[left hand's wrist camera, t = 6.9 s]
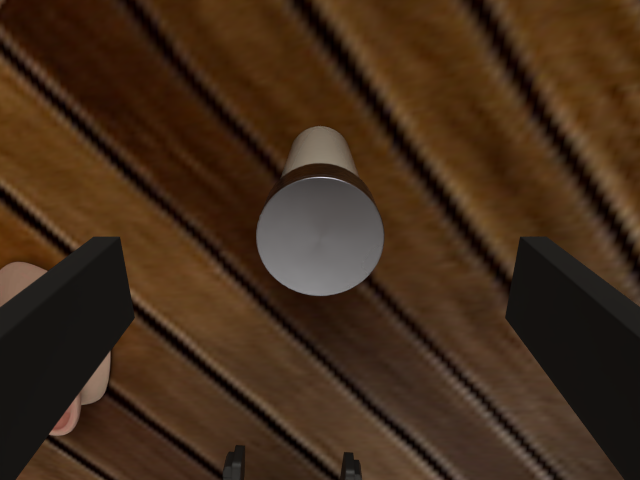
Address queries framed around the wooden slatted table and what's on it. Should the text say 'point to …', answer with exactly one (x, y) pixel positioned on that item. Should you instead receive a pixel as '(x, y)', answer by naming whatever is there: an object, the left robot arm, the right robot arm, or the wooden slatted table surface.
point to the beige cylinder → (320, 150)
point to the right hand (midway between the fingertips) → (293, 457)
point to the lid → (320, 230)
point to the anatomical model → (21, 275)
